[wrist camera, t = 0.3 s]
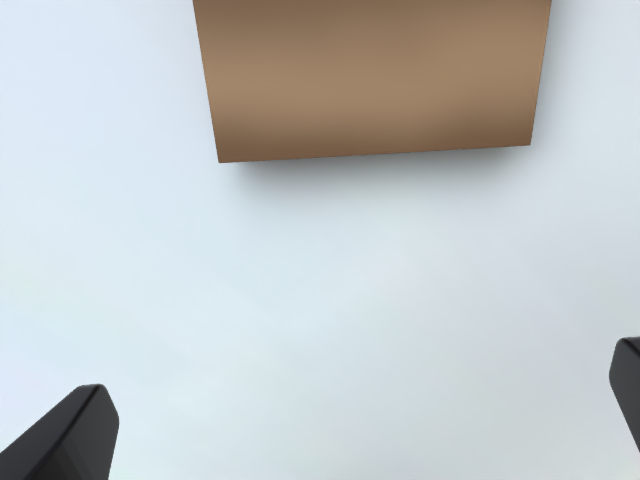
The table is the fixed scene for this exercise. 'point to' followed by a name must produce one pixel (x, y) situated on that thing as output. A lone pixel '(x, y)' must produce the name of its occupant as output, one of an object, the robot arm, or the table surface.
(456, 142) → the walnut block
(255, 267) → the table surface
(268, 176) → the table surface
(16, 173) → the table surface
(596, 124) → the table surface
